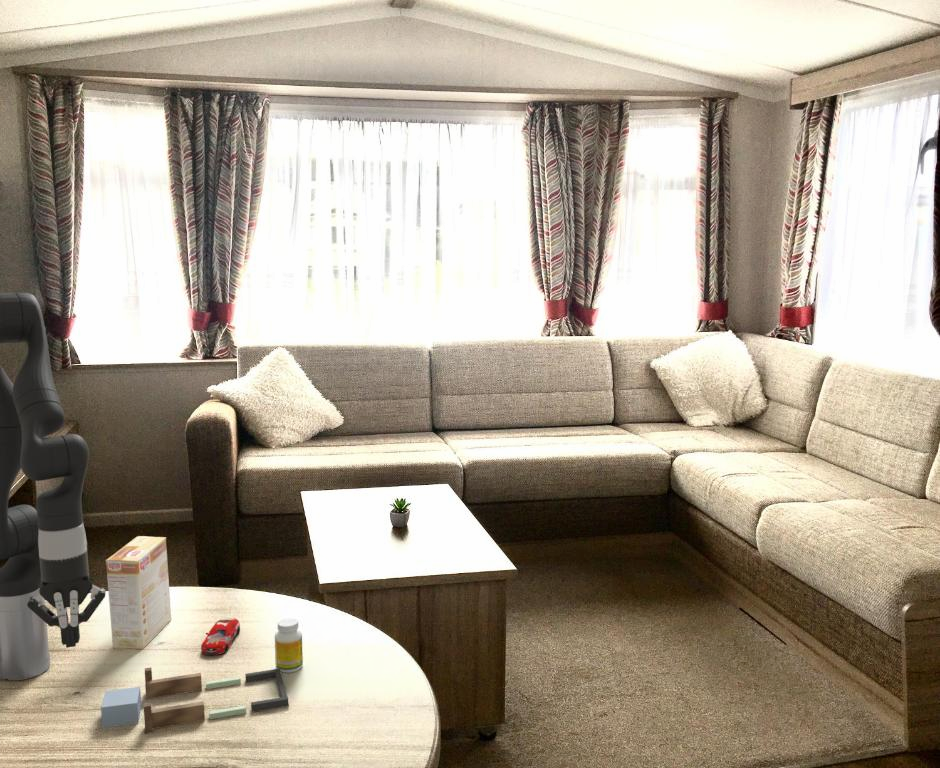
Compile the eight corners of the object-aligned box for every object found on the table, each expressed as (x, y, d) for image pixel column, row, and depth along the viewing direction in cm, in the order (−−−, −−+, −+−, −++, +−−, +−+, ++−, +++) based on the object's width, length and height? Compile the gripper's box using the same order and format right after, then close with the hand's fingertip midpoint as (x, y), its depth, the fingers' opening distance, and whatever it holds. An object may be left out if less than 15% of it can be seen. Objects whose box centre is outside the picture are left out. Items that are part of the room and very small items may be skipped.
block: (102, 728, 159) (100, 707, 159) (106, 711, 165) (105, 691, 164) (138, 723, 161) (137, 702, 160) (141, 706, 167) (140, 686, 166)
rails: (209, 719, 162) (209, 714, 162) (206, 686, 173) (205, 681, 173) (246, 713, 164) (246, 708, 164) (240, 681, 175) (240, 676, 175)
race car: (223, 658, 185) (222, 640, 185) (197, 657, 186) (196, 639, 185) (244, 630, 198) (243, 613, 198) (220, 629, 199) (219, 612, 198)
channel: (145, 733, 157) (143, 706, 156) (146, 693, 171) (144, 668, 170) (205, 723, 160) (203, 697, 160) (201, 684, 174) (200, 660, 173)
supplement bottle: (272, 664, 182) (271, 619, 181) (298, 658, 185) (297, 614, 183) (279, 675, 178) (277, 629, 176) (306, 670, 180) (304, 624, 178)
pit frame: (251, 712, 164) (251, 705, 164) (245, 680, 176) (245, 673, 175) (288, 706, 166) (288, 698, 166) (280, 675, 178) (279, 668, 178)
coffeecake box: (142, 618, 204) (136, 535, 201) (172, 619, 204) (167, 536, 200) (110, 648, 189) (104, 559, 186) (143, 649, 189) (137, 560, 186)
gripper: (17, 562, 150) (26, 660, 152) (103, 552, 154) (111, 648, 157) (23, 548, 157) (32, 642, 159) (105, 539, 161) (112, 630, 164)
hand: (71, 645), depth 158 cm, fingers closed
